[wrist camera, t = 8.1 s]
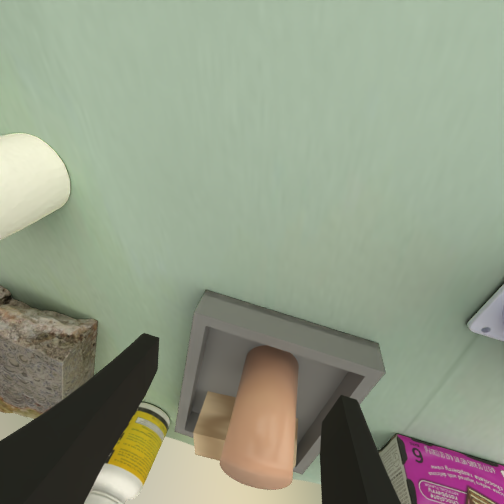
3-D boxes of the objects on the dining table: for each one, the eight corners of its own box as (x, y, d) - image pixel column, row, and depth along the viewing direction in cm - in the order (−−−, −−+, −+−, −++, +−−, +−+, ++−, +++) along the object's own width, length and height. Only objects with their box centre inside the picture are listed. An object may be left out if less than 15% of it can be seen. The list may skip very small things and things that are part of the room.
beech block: (246, 399, 28) (237, 443, 24) (244, 421, 30) (235, 464, 26) (207, 391, 28) (193, 432, 25) (208, 413, 30) (195, 454, 27)
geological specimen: (60, 354, 22) (61, 443, 29) (106, 305, 27) (97, 391, 35) (-72, 306, 22) (-38, 409, 29) (1, 266, 27) (14, 361, 34)
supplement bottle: (137, 394, 32) (76, 500, 24) (178, 416, 33) (132, 526, 25) (123, 411, 35) (64, 512, 27) (161, 431, 36) (115, 535, 28)
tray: (378, 343, 22) (385, 372, 19) (303, 447, 31) (302, 474, 29) (206, 289, 22) (194, 312, 20) (184, 407, 32) (174, 431, 30)
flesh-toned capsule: (301, 350, 23) (296, 462, 16) (295, 385, 25) (288, 495, 18) (246, 341, 23) (218, 445, 17) (245, 376, 26) (221, 479, 19)
